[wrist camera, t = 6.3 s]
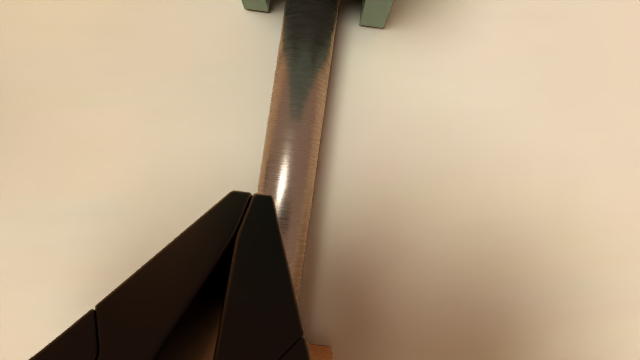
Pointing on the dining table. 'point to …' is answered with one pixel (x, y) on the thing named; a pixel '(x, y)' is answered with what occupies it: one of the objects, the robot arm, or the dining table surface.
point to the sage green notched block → (372, 11)
